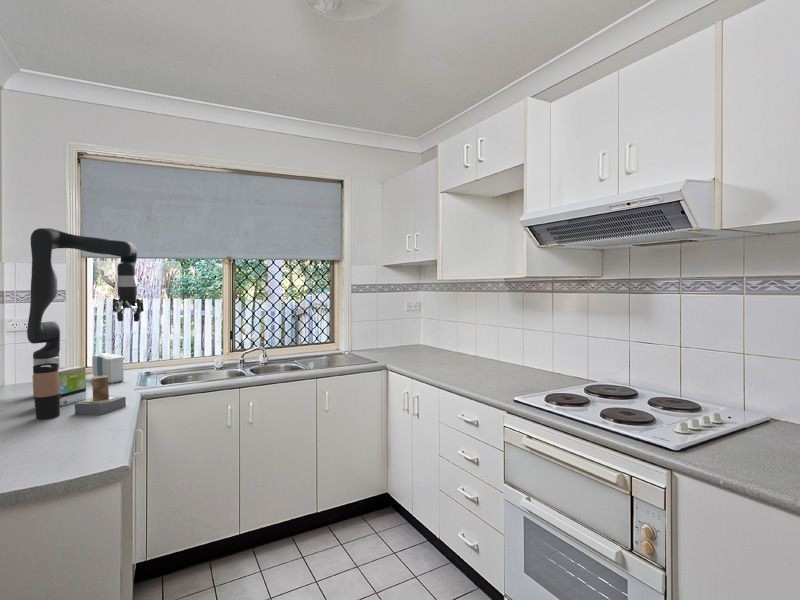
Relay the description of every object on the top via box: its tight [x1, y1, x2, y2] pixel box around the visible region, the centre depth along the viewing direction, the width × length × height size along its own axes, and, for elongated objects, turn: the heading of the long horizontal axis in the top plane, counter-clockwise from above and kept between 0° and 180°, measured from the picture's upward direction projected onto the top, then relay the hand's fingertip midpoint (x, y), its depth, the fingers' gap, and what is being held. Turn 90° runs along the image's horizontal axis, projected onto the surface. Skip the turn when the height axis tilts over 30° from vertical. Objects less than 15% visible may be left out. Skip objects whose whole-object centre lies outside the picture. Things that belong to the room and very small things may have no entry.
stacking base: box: [74, 395, 127, 416], centre depth 180 cm, size 12×12×4 cm
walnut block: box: [91, 375, 110, 401], centre depth 180 cm, size 5×5×9 cm
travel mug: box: [32, 363, 61, 421], centre depth 171 cm, size 8×8×20 cm
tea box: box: [58, 365, 87, 407], centre depth 190 cm, size 15×10×15 cm, turn 168°
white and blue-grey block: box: [91, 342, 126, 384], centre depth 232 cm, size 21×8×20 cm, turn 53°
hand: (128, 321), depth 204 cm, fingers open, 8 cm apart
